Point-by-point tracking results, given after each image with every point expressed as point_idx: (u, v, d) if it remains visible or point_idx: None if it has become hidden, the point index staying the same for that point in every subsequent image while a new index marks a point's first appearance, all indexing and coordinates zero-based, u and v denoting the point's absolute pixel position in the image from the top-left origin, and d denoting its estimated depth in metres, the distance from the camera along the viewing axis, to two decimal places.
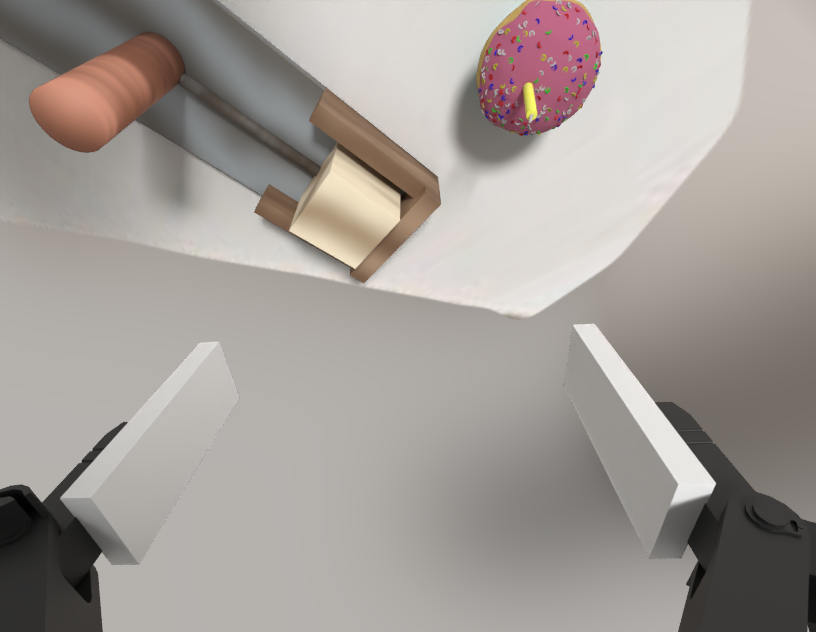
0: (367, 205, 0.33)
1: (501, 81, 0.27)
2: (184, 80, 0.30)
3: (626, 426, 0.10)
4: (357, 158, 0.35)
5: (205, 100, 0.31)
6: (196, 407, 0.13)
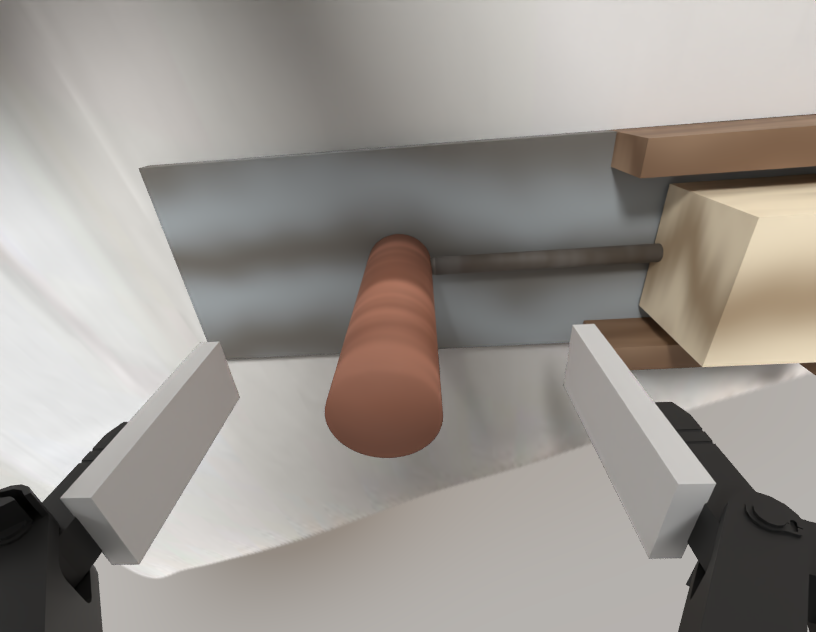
0: None
1: None
2: (437, 264, 0.21)
3: (626, 426, 0.10)
4: (723, 184, 0.19)
5: (470, 269, 0.21)
6: (196, 407, 0.13)
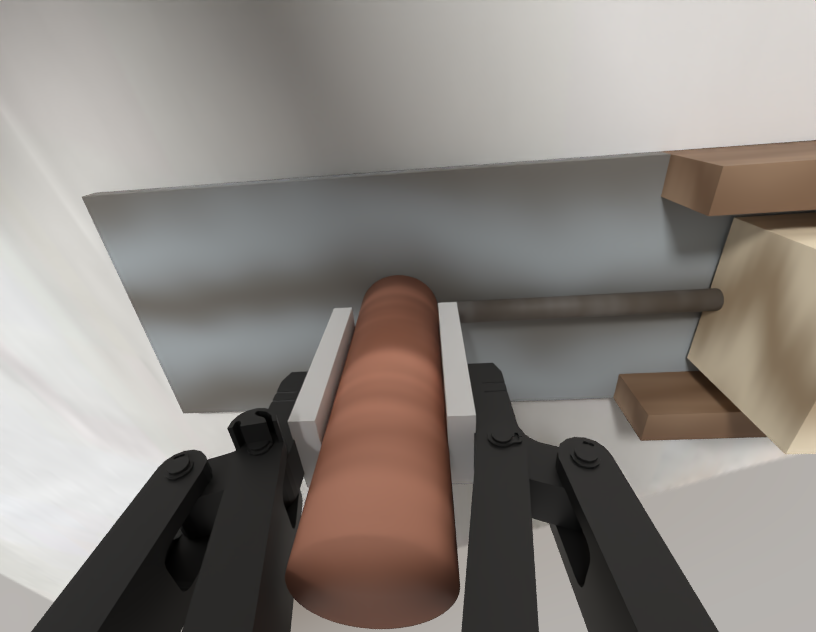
0: None
1: None
2: None
3: None
4: (805, 219, 0.15)
5: (485, 318, 0.18)
6: None
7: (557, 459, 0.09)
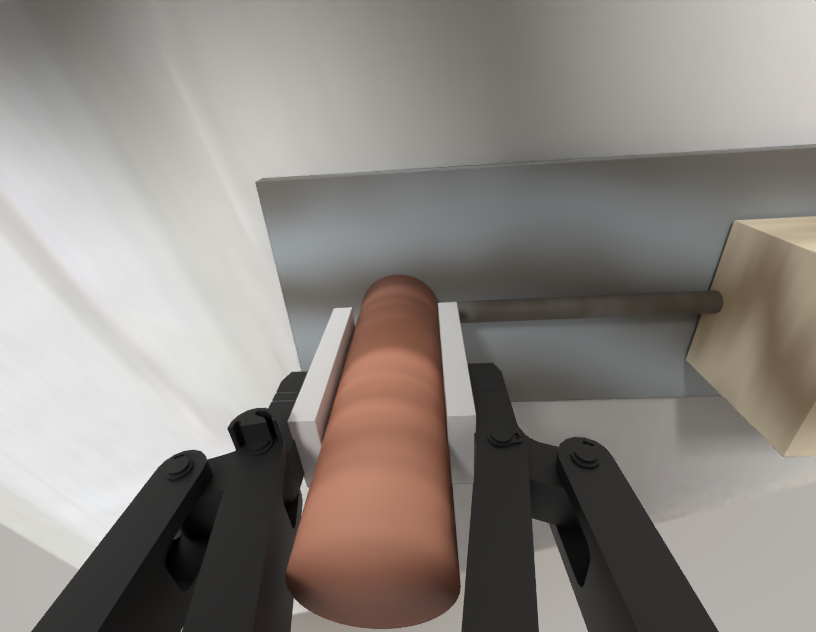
0: None
1: None
2: None
3: None
4: (805, 223, 0.15)
5: (485, 319, 0.18)
6: None
7: (557, 459, 0.09)
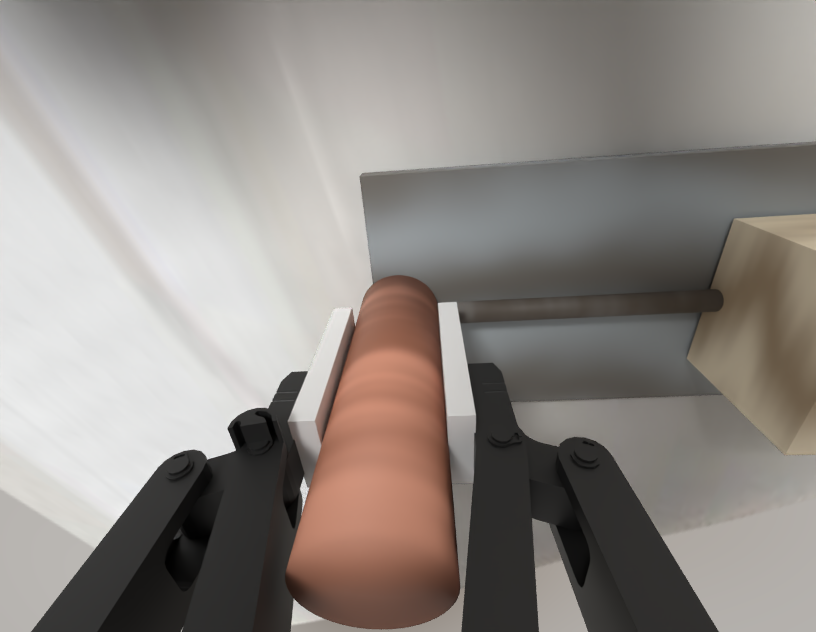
0: None
1: None
2: None
3: None
4: (805, 221, 0.15)
5: (485, 319, 0.18)
6: None
7: (557, 459, 0.09)
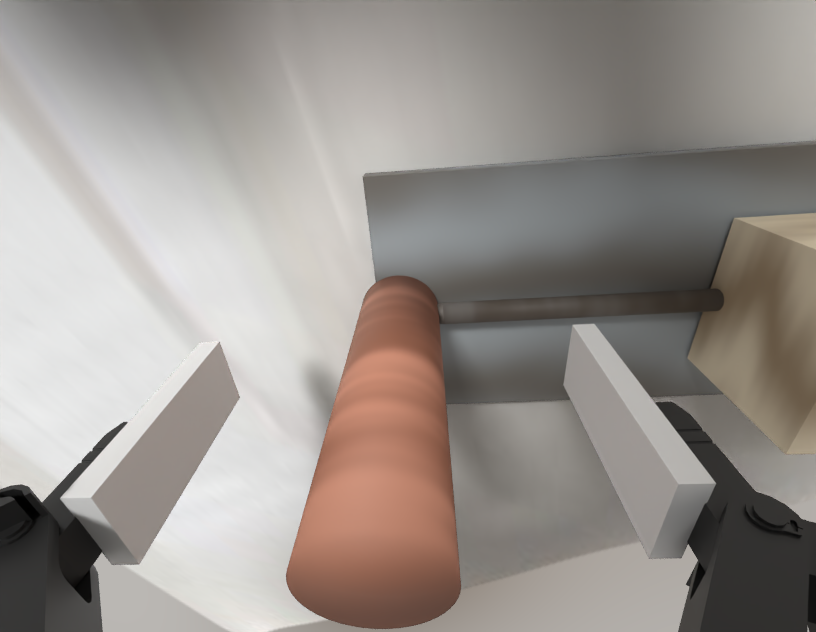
0: None
1: None
2: (445, 312, 0.17)
3: (626, 426, 0.10)
4: (805, 220, 0.15)
5: (485, 319, 0.18)
6: (196, 407, 0.13)
7: None
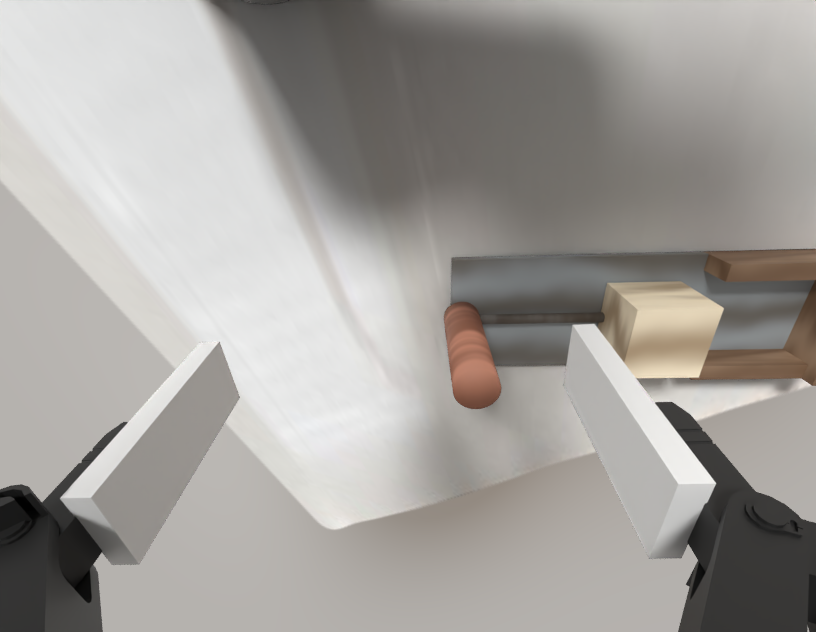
0: (684, 314, 0.33)
1: None
2: (483, 319, 0.39)
3: (626, 426, 0.10)
4: (633, 285, 0.37)
5: (501, 322, 0.39)
6: (196, 407, 0.13)
7: None
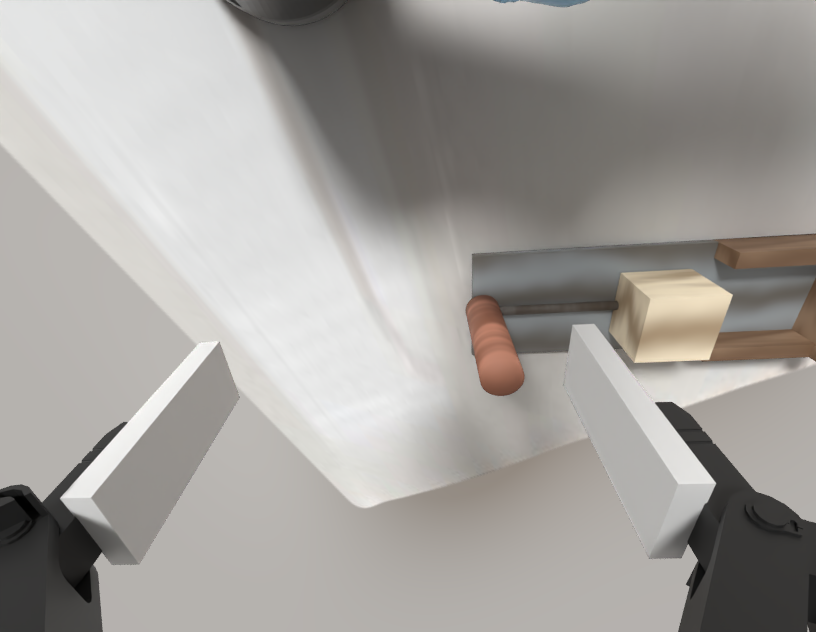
0: (695, 301, 0.35)
1: None
2: (503, 310, 0.42)
3: (626, 426, 0.10)
4: (645, 274, 0.39)
5: (520, 313, 0.42)
6: (196, 407, 0.13)
7: None
